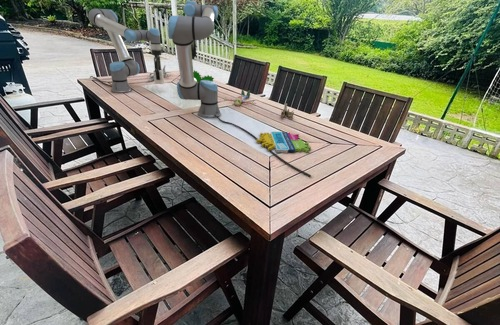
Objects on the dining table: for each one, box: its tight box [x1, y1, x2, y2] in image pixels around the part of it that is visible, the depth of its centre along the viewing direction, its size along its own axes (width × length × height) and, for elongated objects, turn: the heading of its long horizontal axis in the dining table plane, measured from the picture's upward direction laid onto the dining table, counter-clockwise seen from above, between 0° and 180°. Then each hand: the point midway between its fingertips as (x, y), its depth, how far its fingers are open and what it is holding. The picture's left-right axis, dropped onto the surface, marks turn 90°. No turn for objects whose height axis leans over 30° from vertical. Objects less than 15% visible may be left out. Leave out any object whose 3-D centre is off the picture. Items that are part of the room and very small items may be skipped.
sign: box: [256, 131, 312, 154], centre depth 152 cm, size 26×2×30 cm
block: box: [152, 69, 165, 85], centre depth 222 cm, size 7×6×10 cm
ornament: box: [193, 69, 215, 83], centre depth 248 cm, size 21×8×15 cm, turn 105°
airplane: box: [145, 65, 172, 83], centre depth 274 cm, size 38×31×10 cm
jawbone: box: [280, 103, 295, 120], centre depth 192 cm, size 9×15×10 cm
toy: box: [223, 89, 257, 106], centre depth 219 cm, size 28×7×30 cm
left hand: (159, 78), depth 223 cm, fingers closed on block, 6 cm apart
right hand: (193, 57), depth 197 cm, fingers open, 13 cm apart
